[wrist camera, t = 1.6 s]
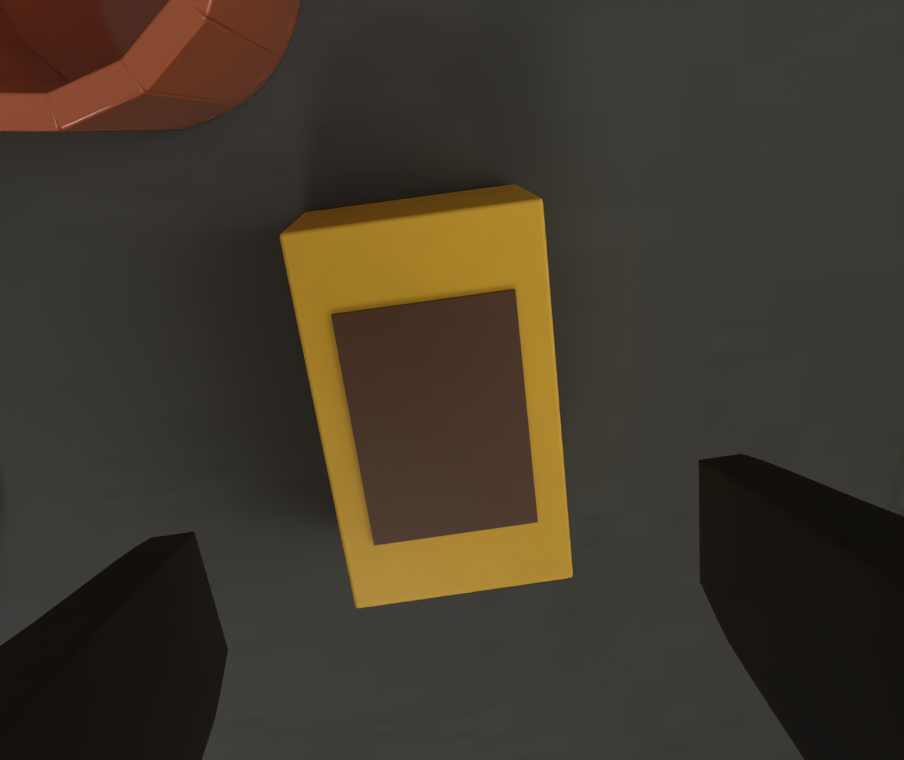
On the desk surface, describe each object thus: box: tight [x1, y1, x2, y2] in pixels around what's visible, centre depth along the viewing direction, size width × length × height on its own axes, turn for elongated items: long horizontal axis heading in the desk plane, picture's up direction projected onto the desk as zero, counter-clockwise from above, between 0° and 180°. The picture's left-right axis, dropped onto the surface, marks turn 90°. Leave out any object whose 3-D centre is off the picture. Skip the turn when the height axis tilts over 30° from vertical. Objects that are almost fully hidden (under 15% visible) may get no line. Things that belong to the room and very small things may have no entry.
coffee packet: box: [280, 184, 573, 608], centre depth 16 cm, size 8×5×4 cm, turn 7°
